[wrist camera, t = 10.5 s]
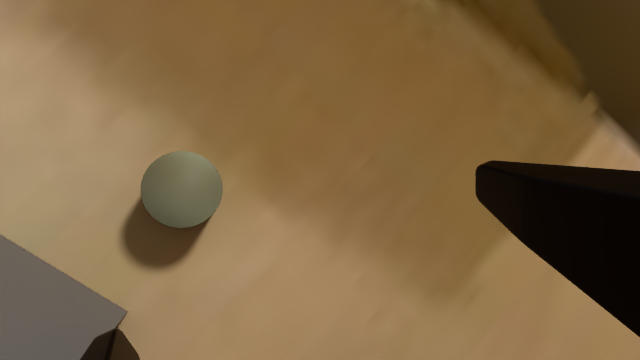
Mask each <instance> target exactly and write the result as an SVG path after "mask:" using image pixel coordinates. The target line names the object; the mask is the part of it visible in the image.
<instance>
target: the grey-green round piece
mask: <svg viewBox="0 0 640 360" xmlns="http://www.w3.org/2000/svg"><path fill="white" fill-rule="evenodd" d="M141 197H142V201H143V204H144V206H145V208H146V210H147V211H148V212H149V214H150V215H151V216H152V217H153V218H154V219H156V220H157V221H159V222H160V223H162V224H164V225H167V226H170V227H176V228H187V227H192V226H195V225H198V224H200V223H202V222H204V221H205V220H207V219H208V218H209V217H210V216H211V215H212V214H213V213H214V212H215V210H216V209H217V207H218V205H219V203H220V201H221V197H222V181H221V177H220V175H219V173H218V171H217V169H216V168H215V166H214V165H213V164H212V163H211V162H210V161H209V160H207V159H206V158H204V157H203V156H201V155H199V154H196V153H193V152H188V151H176V152H171V153H168V154H165V155H163V156H161V157H160V158H158V159H157V160H155V161H154V162H153V163H152V164H151V165H150V166H149V167H148V169H147V170H146V172H145V174H144V176H143V179H142V183H141Z"/></svg>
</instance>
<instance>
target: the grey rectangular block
mask: <svg viewBox="0 0 640 360" xmlns="http://www.w3.org/2000/svg"><path fill="white" fill-rule="evenodd" d="M127 312H128V311H126V310H124V309H123V308H121V307H119V306H118V305H116V304H114V303H113V302H111V301H109V300H108V299H106V298H104V297H103V296H101V295H99V294H98V293H96V292H94V291H93V290H91V289H89V288H88V287H86V286H85V285H83V284H81V283H80V282H78V281H76V280H75V279H73V278H71V277H70V276H68V275H66V274H65V273H63V272H61V271H60V270H58V269H56V268H55V267H53V266H51V265H50V264H48V263H46V262H45V261H43V260H41V259H40V258H38V257H36V256H35V255H33V254H31V253H30V252H28V251H26V250H25V249H23V248H21V247H20V246H18V245H16V244H15V243H13V242H11V241H10V240H8V239H6V238H5V237H3V236H1V235H0V360H80V358H81V357H82V355H83V354H84V353H85V351H86V350H87V348H88V347H89V345H90V344H91V342H92V341H93V340H94V338H95V337H97V336H99V335H101V334H103V333H105V332H107V331H110V330H112V329H115V328H116V326H117V325H118V324H119V322H120V321H121V320H122V318H123V317H124V316H125V314H126V313H127Z"/></svg>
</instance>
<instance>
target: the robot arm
mask: <svg viewBox="0 0 640 360" xmlns="http://www.w3.org/2000/svg"><path fill="white" fill-rule="evenodd" d="M476 196H477V198H478V200H479V201H480V202H481V203H482V204H483V205H484V206H485V207H486V208H487V209H488V210H489V211H490V212H491V213H492V214H493V215H494V216H495V217H496V218H497V219H498V220H499V221H500V222H501V223H502V224H503V225H504V226H505V227H506V228H507V229H508V230H509V231H510V232H511V233H512V234H513V235H515V236H516V237H517V238H518V239H519V240H520V241H521V242H522V243H523V244H525V245H526V246H527V247H528V248H529V249H531V250H532V251H533V252H534V253H536V254H537V255H538V256H539V257H541V258H542V259H543V260H544V261H546V262H547V263H548V264H549V265H551V266H552V267H553V268H554V269H556V270H557V271H558V272H559V273H561V274H562V275H563V276H564V277H566V278H567V279H568V280H569V281H570V282H572V283H573V284H574V285H575V286H577V287H578V288H579V289H580V290H582V291H583V292H584V293H585V294H587V295H588V296H589V297H590V298H592V299H593V300H594V301H595V302H597V303H598V304H599V305H600V306H602V307H603V308H604V309H605V310H607V311H608V312H609V313H610V314H612V315H613V316H614V317H615V318H617V319H618V320H619V321H620V322H621V323H623V324H624V325H625V326H626V327H628V328H629V329H630V330H631V331H633V332H634V333H635V334H636V335H638V336H639V337H640V171H630V170H616V169H603V168H589V167H575V166H562V165H548V164H534V163H521V162H507V161H488V162H486V163H484V164H481V165H479V166H478V167H477V169H476ZM80 360H140V358H139V356H138V354H137V352H136V350H135V349H134V348H133V346H132V345H131V343H130V342H129V341H128V339H127V338H126V336H125V335H124V334H123V332H122V331H121V330H119V329H116V328H115V329H112V330H110V331H107V332H105V333H103V334H101V335H99V336H97V337H95V338H94V340H93V341H92V342H91V344H90V345H89V347H88V348H87V350H86V351H85V353H84V354H83V355H82V357H81V358H80Z"/></svg>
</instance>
